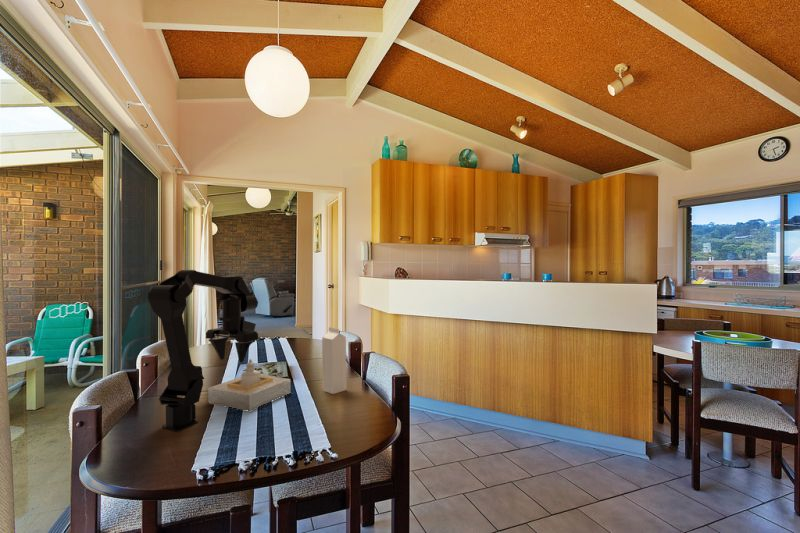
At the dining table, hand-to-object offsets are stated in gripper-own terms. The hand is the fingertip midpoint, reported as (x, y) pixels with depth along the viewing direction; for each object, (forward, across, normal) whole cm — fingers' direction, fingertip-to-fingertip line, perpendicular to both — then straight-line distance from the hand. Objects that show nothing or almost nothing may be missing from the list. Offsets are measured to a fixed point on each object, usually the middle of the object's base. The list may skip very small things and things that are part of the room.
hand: (231, 360), depth 124 cm
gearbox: (+13, -5, -6) cm, 15 cm away
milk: (+13, -25, -22) cm, 36 cm away
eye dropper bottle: (+12, -5, -4) cm, 13 cm away
